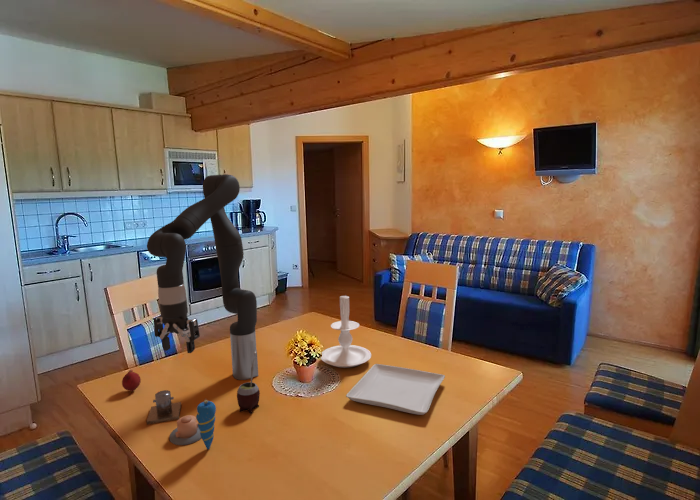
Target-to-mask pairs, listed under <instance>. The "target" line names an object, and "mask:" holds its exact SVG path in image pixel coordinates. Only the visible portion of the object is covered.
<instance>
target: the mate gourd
mask: <svg viewBox="0 0 700 500" xmlns="http://www.w3.org/2000/svg"><path fill="white" fill-rule="evenodd" d="M255 359H256V358H254V360H253V363H252V367H251V379H250V381H248V382H244V383H242V384H240V385H239V386H238V389H237V392H236V399H237V405H238V408H239V409H238V411H239V413H243V412H246V411H248V412H249V414H251V415H252V414H253V413H254V412H253V410H254V409H257V408H259V407H260V405H259V401H260V396H261V395H260V394H261V393H260V391H261V390H260V387H259V386H258V385H257V384H256V383H255V382H253V378H254V377H253V369H254V368H253V366H254V362H255ZM252 377H253V378H252Z"/></svg>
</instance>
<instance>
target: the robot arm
mask: <svg viewBox="0 0 700 500" xmlns="http://www.w3.org/2000/svg"><path fill="white" fill-rule="evenodd" d="M240 189H241V188H240V182H239V180H238V179H237V177H236V176H234V175H232V174H228V173H227V174H211V175H207V176H206V177H204V179H203V181H202V192H203V193H202V194H203V199H201V200H199V201H197V202H195V203H193V204H191V205H189V206H188V207H186V208H185V209H184V210H183V211H182V212H181V213H180V214H179V215H177V216H176V218H174V219H173V220H172V221H171V222H169V223H167V224H165V225H164V226H161V228H158V229H157V230H155V231H154V232H153V233H152V234H150V236H149V238H148V239H147V243H146V248H147V252H148V253H149V254H150V255H152V256H154V257H157V258H158V257H159V258H166V261H165V264H163V265H160V266H159V267H157V268H156V279H157V280H156V281H157V288H158V289H157V293H158V303H159V304H158V305H159V313H160V314H159V316H157V317H154V318H153V329H154V330H153V331H154V332H153V333H154V336H155V338H159V339H160V340H161V347H162V349H163V351H164V352H167V351H169V350H170V349H171V339H170V334H173V333H175V334H179V335H180V337H183V338H184V340H185V343H186V344H185V345H186V352H187V354H192V353H193V352H194V351H195V349H196V346H195V340H197V339H198V338H200V335H201V334H200V329H199V323H198V318H193V319H189V317H188V313H189V310H188V309H189V308H188V301H187V299H188V298H187V292H186V291H187V290H186V287H185V282H184V273H183V267H184V263H185V257H186V251H187V245H186V240H188V239H191V238H192V237H193V236H194V235H195V234H196V233H197V231H198V230H200V228H201V227H202V226H203V225H204V224H205V223H206V222H207V221H208V220H209V219H210V224H211V228H212V231H213V238H214V245H215V251H216V257H217V261H218V266H219V273H220V281H221V294H222V303H223V306H224V307H223V308H225V311H227V312H228V313H230V314H235V315H237V320H236V321H234V322H232V323H231V324H230V325H229V336H230V337H229V338H230V350H231V351H230V353H231V367H232V377H233V378H234V379H235V380H239V381H242V380H243V381H244V380H251V367H252V363H253V360H254V358H256V359H255V362H254V366H253V368H254V369H253V377H252V379H253V378H255V377H259V364H258V350H257V336H256V334H257V333H256V325H257V320H258V316H257V315H258V313H257V312H258V302H257V296H256V295H255V293H254V292H253V291H251V290H247V289H241V288H240V284H239V270H240V267H241V264H242V262H243V260H244V259H243V258H244V247H243V242H242V241H243V240H242V236H241V234H240V232H239V231H238V229H237V228H236V227H235V225H234V223H233V222H232V221H231V219H230V218H229V217H228V215H227V213H226V210H225V209H226V208H225V207H226V206H227V205H229V204H231V203H232V202H233V201H235V200H236V199H237V198H238V196H239V194H240V191H241V190H240Z"/></svg>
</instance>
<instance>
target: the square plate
mask: <svg viewBox="0 0 700 500" xmlns="http://www.w3.org/2000/svg"><path fill="white" fill-rule="evenodd" d="M445 376H446V375H445V374H443V373H442V374H441V373H435V372H429V371H425V370H419V369H415V368H407V367H401V366H396V365H395V366H394V365H387V364H379V363H375V364H373V365H372V366H371V367H370V368H369V369H368V371H367V372H366V373H365V374H363V376H362V377H361V378H360V379H359V380H358V382H356V384H354V386H352V388H351V389H350V390H349V391H348V392H347V393H346V395H345V398H348V399H349V400H351V401H354V402H355V403H356V402H357V403H362V404H367V405H371V406H377V407H383V408H387V409H392V410H395V411H399V412H404V413H409V414H413V415H418V416H419V415H422V416H423V415H426V414H427V413H428V412H429V409H430V407H431V404H432V402H433V399H434V397H435V395H436V393H437V390H438V389H439V387H440V386H441V384H442V382H443V381H444V379H445V378H446V377H445Z"/></svg>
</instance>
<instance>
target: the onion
mask: <svg viewBox="0 0 700 500" xmlns="http://www.w3.org/2000/svg"><path fill="white" fill-rule="evenodd" d="M141 380H142V379H141V376H140V375H139V374H138V373H137V372H134V371H133V369H129V370H128V372H127V373H126V374H125V375H124V376H123V377H122V380H121V385H122V387H123V389H124V390H126V391H128V392H134V391H135V390H136V389H137V388H139V386H140V385H141Z"/></svg>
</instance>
